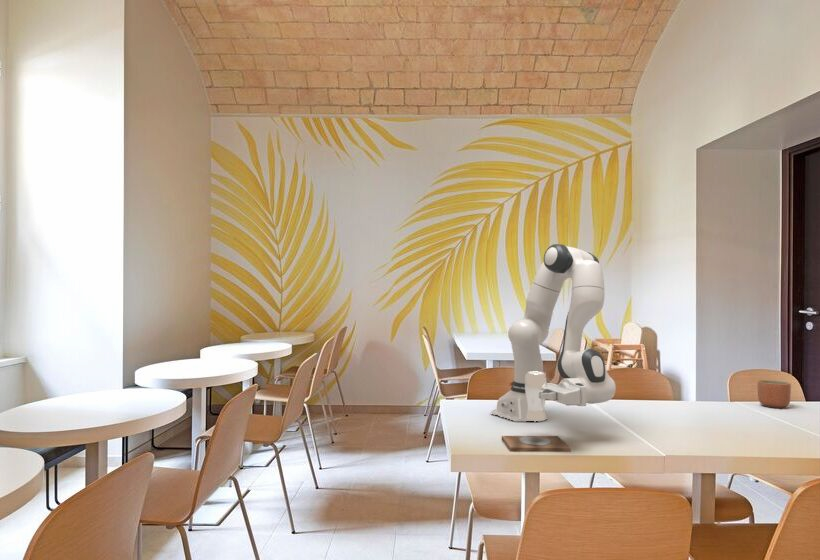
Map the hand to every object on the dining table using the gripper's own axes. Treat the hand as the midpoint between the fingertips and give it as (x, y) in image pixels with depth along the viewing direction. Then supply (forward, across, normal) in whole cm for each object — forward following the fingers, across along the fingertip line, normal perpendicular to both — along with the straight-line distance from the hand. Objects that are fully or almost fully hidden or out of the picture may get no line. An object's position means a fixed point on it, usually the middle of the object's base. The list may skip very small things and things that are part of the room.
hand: (533, 394), depth 182 cm
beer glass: (-1, 0, +8) cm, 8 cm away
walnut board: (-1, 0, +17) cm, 17 cm away
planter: (-136, -25, +18) cm, 139 cm away
